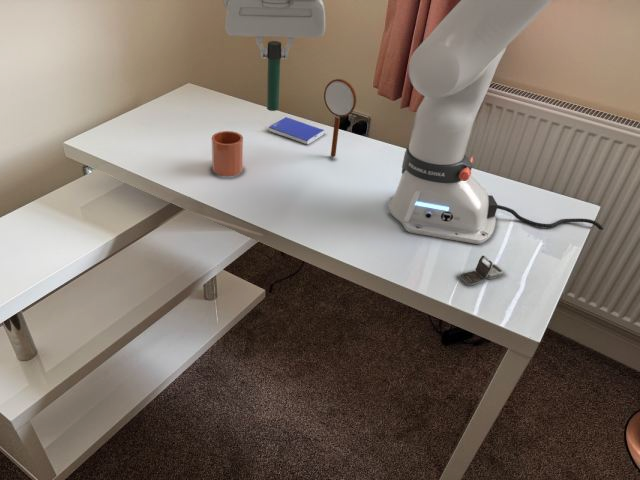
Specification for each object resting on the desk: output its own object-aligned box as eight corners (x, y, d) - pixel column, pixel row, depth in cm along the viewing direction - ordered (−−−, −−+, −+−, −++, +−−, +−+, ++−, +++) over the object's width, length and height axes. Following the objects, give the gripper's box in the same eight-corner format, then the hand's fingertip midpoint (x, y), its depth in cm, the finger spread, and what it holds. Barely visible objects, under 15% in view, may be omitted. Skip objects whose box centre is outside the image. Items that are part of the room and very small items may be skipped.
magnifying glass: (349, 163, 142) (360, 83, 130) (345, 166, 141) (356, 85, 128) (320, 152, 147) (328, 73, 134) (316, 154, 146) (324, 75, 133)
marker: (281, 107, 128) (283, 42, 119) (275, 112, 126) (277, 45, 117) (269, 105, 129) (271, 40, 120) (264, 109, 127) (265, 43, 118)
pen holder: (247, 167, 140) (248, 135, 134) (233, 181, 135) (233, 147, 129) (222, 160, 142) (221, 128, 137) (207, 173, 137) (205, 140, 132)
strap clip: (493, 266, 112) (499, 248, 109) (504, 275, 110) (511, 257, 107) (458, 277, 109) (463, 259, 106) (468, 286, 107) (474, 268, 104)
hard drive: (269, 126, 154) (307, 139, 149) (286, 116, 159) (324, 129, 154) (268, 131, 155) (307, 145, 150) (286, 121, 160) (323, 134, 155)
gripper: (221, -13, 109) (223, 61, 118) (329, -11, 109) (323, 64, 118) (224, -20, 114) (225, 52, 123) (327, -18, 114) (321, 54, 123)
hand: (274, 58), depth 120 cm, fingers closed on marker, 3 cm apart
